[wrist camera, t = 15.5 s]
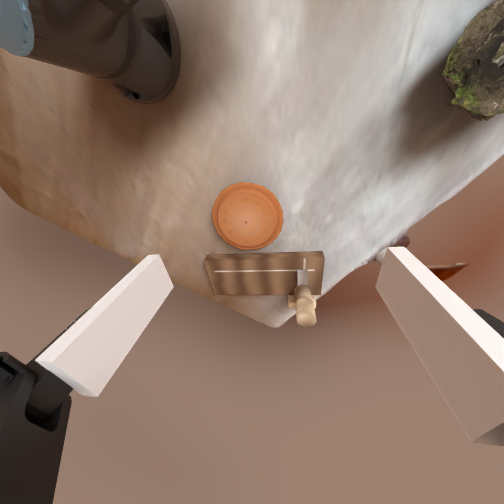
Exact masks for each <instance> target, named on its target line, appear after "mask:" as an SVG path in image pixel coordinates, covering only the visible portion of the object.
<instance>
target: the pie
mask: <svg viewBox="0 0 504 504" xmlns="http://www.w3.org/2000/svg"><path fill="white" fill-rule="evenodd" d="M212 218H213V222H214V226H215V228H216V230H217V232H218V234H219V235H220V236H221V237H222V238H223V239H224V240H225V241H226V242H227V243H229V244H231V245H232V246H234V247H236V248H239V249H242V250H252V249H259V248H262V247H264V246H266V245H268V244H270V243H271V242H273V241H274V240H275V239H276V238H277V237H278V235H279V233H280V232H281V229H282V225H283V211H282V209H281V206H280V204H279V202H278V200H277V199H276V197H275V196H274V194H273V193H272V192H271V191H269V190H268V189H266V188H265V187H263V186H261V185H257V184H254V183H245V182H240V183H236V184H233V185H230V186H228V187H227V188H225V189H224V190H222V191H221V193H220V194H219V196H218V197H217V199H216V201H215V203H214V206H213V208H212Z"/></svg>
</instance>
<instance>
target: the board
mask: <svg viewBox="0 0 504 504" xmlns="http://www.w3.org/2000/svg"><path fill="white" fill-rule="evenodd" d="M324 260H325V258H324V255H323V252H322V251H314V252H281V253H247V254H214V255H207V257H206V258H205V260H204V263H205V266H206V269H207V272H208V276H209V279H210V282H211V285H212V289H213V292H214V294H249V295H295V292H294V290H295V288H296V287H297V270H308V287H309V288H310V290H311V295H321V288H322V278H323V269H324Z"/></svg>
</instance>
